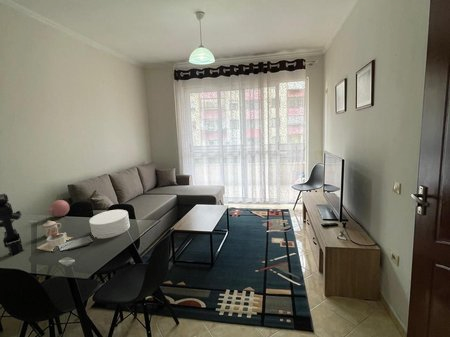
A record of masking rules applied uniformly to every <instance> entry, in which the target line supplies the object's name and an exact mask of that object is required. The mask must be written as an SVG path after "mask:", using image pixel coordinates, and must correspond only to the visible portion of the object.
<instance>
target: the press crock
mask: <svg viewBox="0 0 450 337" xmlns="http://www.w3.org/2000/svg"><path fill="white" fill-rule="evenodd" d="M58 233H59V234H60V235H59V236H58V237H57V239H55V238H52V237H51V236H50V237H47V238H46V241H47V242H46V243H44V244H41V245H40V246H38V247H36V249H37V250H41V251H47V252H51V251H53V249H54V248H55V247H56V246H58V245H60V244H63V243H65V242H66V240H69V239H71V238H72V237H71V236H68V235H67V232H58Z"/></svg>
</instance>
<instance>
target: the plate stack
mask: <svg viewBox="0 0 450 337" xmlns="http://www.w3.org/2000/svg"><path fill="white" fill-rule="evenodd" d="M130 222H131V221H130V218H129V212H128V211H127V210H126V209H125V210H124V209H112V210H106V211H103V212H100V213H98V214H95V215H94V216H92V217H91V218H89V222H88V223H89V226H90V230H91V231H90V232H91V235H93V236H94V237H93V236H92V237H93V238H95V237H97V238H96V239H109V238H112V237H116V236H119V235H122V234H123V233H125V232H126V231H128V230H129V229H130V228H131V227H130V226H131V224H130Z"/></svg>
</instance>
